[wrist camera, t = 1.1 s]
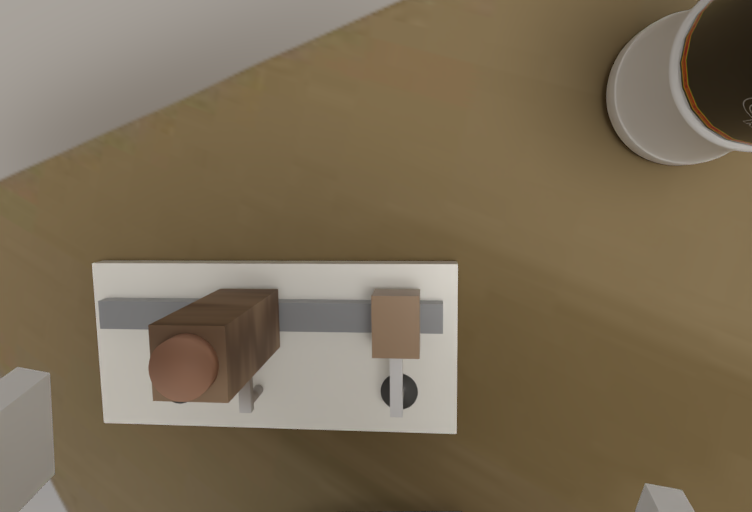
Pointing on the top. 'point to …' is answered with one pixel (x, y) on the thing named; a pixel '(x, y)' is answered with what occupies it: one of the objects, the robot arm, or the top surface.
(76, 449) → the top surface
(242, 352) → the sliding handle
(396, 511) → the food container
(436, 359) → the board
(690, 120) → the vodka
